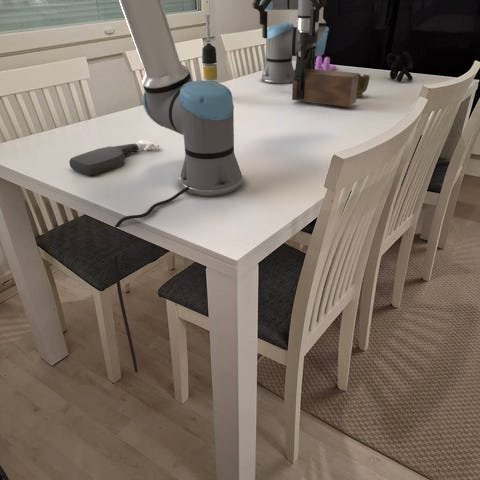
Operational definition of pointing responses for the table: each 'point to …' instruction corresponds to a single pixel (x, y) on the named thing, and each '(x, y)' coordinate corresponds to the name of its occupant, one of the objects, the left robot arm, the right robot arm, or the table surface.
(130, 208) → the table surface
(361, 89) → the cup
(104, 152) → the spray bottle
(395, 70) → the squiggle
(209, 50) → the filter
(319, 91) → the box
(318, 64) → the bracket
